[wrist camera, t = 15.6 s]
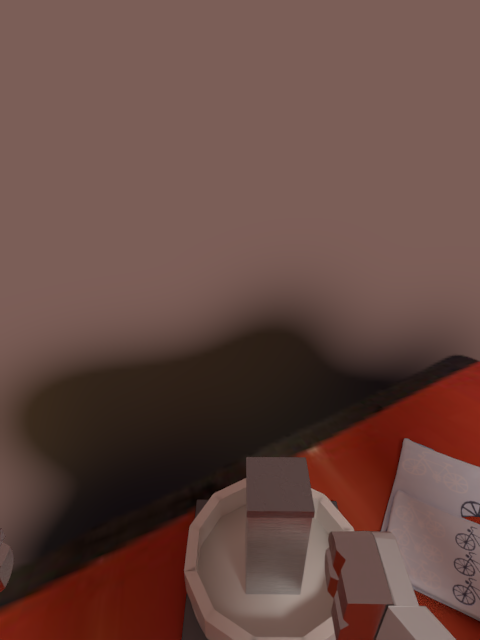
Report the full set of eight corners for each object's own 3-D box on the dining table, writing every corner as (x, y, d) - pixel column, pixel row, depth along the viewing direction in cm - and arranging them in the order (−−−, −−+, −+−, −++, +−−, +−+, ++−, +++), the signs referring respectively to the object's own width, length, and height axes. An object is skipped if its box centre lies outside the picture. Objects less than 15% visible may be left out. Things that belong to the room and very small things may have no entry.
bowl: (336, 501, 47) (340, 477, 45) (375, 676, 33) (384, 653, 31) (196, 499, 47) (195, 476, 45) (177, 674, 33) (174, 651, 31)
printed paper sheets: (367, 574, 41) (371, 562, 40) (402, 441, 56) (406, 429, 55) (602, 691, 33) (614, 680, 32) (568, 500, 49) (576, 488, 48)
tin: (294, 540, 42) (305, 457, 36) (301, 595, 37) (315, 511, 31) (244, 540, 42) (246, 457, 36) (244, 595, 37) (246, 510, 31)
